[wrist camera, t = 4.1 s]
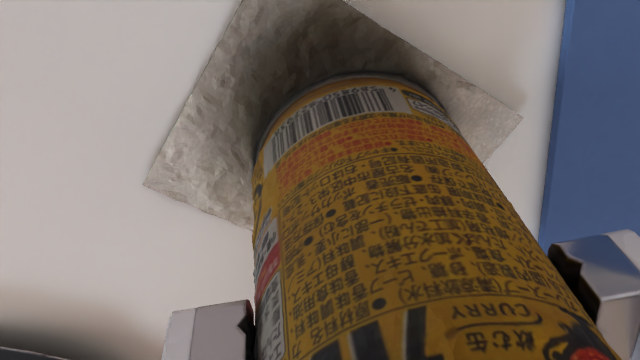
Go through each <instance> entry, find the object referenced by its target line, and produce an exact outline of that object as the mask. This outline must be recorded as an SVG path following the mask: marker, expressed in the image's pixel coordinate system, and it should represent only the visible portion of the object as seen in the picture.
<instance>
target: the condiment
mask: <svg viewBox="0 0 640 360" xmlns="http://www.w3.org/2000/svg"><path fill="white" fill-rule="evenodd" d="M522 119H523V117H522V116H520V115H519V114H517V113H516V112H514V111H513V110H511V109H509V108H508V107H506V106H505V105H503V104H502V103H500V102H499V101H497V100H496V99H494V98H493V97H491V96H490V95H488V94H487V93H485V92H484V91H482V90H480V89H479V88H477V87H476V86H474V85H473V84H471V83H469V82H467V81H466V80H465V79H463V78H462V77H460V76H459V75H457V74H456V73H454V72H453V71H451V70H450V69H448V68H447V67H445V66H444V65H442V64H440V63H439V62H437V61H435V60H434V59H432V58H431V57H429V56H428V55H426V54H425V53H423V52H421V51H420V50H418V49H417V48H415V47H413V46H412V45H410V44H409V43H408V42H406V41H404V40H403V39H401V38H399V37H397V36H396V35H394V34H392V33H391V32H389V31H388V30H386V29H384V28H383V27H381V26H380V25H378V24H377V23H376V22H374V21H373V20H371V19H370V18H368V17H367V16H365V15H363V14H362V13H360V12H359V11H357V10H356V9H354V8H353V7H351V6H350V5H348V4H347V3H345V2H344V1H342V0H243V1H242V3H241V5H240V6H239V8H238V10H237V12H236V14H235V15H234V17H233V19H232V21H231V23H230V24H229V26H228V28H227V30H226V32H225V34H224V36H223V38H222V40H221V41H220V43H219V44H218V46H217V48H216V50H215V52H214V53H213V55H212V57H211V59H210V61H209V63H208V65H207V66H206V68H205V70H204V72H203V74H202V76H201V77H200V79H199V81H198V83H197V85H196V87H195V88H194V90H193V92H192V94H191V95H190V96H189V98H188V100H187V102H186V104H185V107H184V109H183V110H182V112H181V114H180V116H179V118H178V120H177V123H176V124H175V125H174V127H173V129H172V131H171V133H170V135H169V136H168V138H167V140H166V142H165V144H164V145H163V147H162V149H161V151H160V153H159V155H158V157H157V159H156V161H155V162H154V164H153V166H152V168H151V170H150V172H149V173H148V175H147V177H146V179H145V181H144V183H143V184H142V185H144V186H146V187H148V188H150V189H153V190H156V191H158V192H160V193H162V194H164V195H166V196H168V197H170V198H173V199H176V200H179V201H182V202H185V203H188V204H190V205H192V206H194V207H196V208H198V209H200V210H201V211H204V212H206V213H209V214H212V215H216V216H219V217H221V218H223V219H226V220H228V221H230V222H232V223H234V224H236V225H238V226H241V227H245V228H248V229H250V230H252V231H253V235H252V243H253V250H254V267H255V268H254V272H253V275H254V278H255V279H254V283H255V296H254V302H255V333H256V335H255V345H254V358H255V360H622V359H621V358H620V356H619V355H618V354H617V353H616V352H615V351H614V350H613V349H612V348H611V347H610V346H609V344H608V343H607V342H606V340H605V339H604V337H603V336H602V334H601V332H600V331H599V330H598V328H597V327H596V326H595V325H594V323H593V321H592V320H591V318H590V317H589V315H588V314H587V313H586V312H585V310H584V309H583V307H582V305H581V303H580V302H579V301H578V300H577V298H576V297H575V296H574V295H573V293H572V292H571V290H570V289H569V287H568V286H567V284H566V283H565V281H564V280H563V278H562V277H561V276H560V274H559V272H558V271H557V269H556V268H555V267H554V266H553V264H552V263H551V261H550V260H549V258H548V257H547V255H546V254H545V253H544V251H543V250H542V248H541V247H540V245H539V244H538V243H537V241H536V240H535V238H534V237H533V235H532V234H531V232H530V231H529V230H528V228H527V227H526V226H525V224H524V223H523V221H522V220H521V218H520V216H519V215H518V214H517V212H516V211H515V209H514V208H513V206H512V204H511V203H510V202H509V201H508V200H507V198H506V197H505V195H504V194H503V193H502V191H501V190H500V188H499V187H498V185H497V184H496V182H495V181H494V179H493V178H492V177H491V175H490V174H489V172H488V171H487V169H486V168H485V166H484V165H483V164H482V163H483V162H484V161H485V160H486V159H488V158H489V157H490V156H491V155H492V153H493V152H494V151H495V150H496V149H497V147H498V146H499V145H500V144H501V143H502V142H503V141H504V140H505V139H506V138H507V137H508V135H509V134H510V133H511V132H512V131H513V130H514V129H515V127H516V126H517V125H518V124H519V123H520V121H521V120H522Z"/></svg>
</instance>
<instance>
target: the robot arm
mask: <svg viewBox="0 0 640 360" xmlns="http://www.w3.org/2000/svg"><path fill="white" fill-rule="evenodd" d="M547 257H548V258H549V260H550V261H551V263H552V264H553V266H554V267H555V268H556V269H557V271H558V272H559V274H560V276H561V277H562V278H563V280H564V281H565V283H566V284H567V286H568V287H569V289H570V290H571V292H572V293H573V295H574V296H575V297H576V298H577V300H578V301H579V302H580V303H581V305H582V307H583V309H584V310H585V312H586V313H587V314H588V315H589V317H590V318H591V320H592V321H593V323H594V325H595V326H596V327H597V328H598V330H599V331H600V332H601V334H602V336H603V337H604V339H605V340H606V342H607V343H608V344H609V346H610V347H611V348H612V349H613V350H614V351H615V352H616V353H617V354H618V355H619V356H620V358H621V359H622V360H640V237H639V236H638V235H637V234H636V233H635V232H634V231H631V230H629V229H624V230H619V231H614V232H609V233H604V234H601V235H594V236H589V237H583V238H578V239H573V240H568V241H563V242H557V243H552V244H551V246H550V247H549V249H548V255H547ZM255 335H256V333H255V325H254V312H253V309H252V306H251V304H250V301H249V300H241V301H235V302H228V303H222V304H216V305H209V306H203V307H198V308H194V309H187V310H181V311H174V312H172V314H171V316H170V317H169V320H168V326H167V331H166V337H165V343H164V348H163V354H162V359H161V360H255V358H254V345H255Z"/></svg>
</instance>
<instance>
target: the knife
mask: <svg viewBox="0 0 640 360" xmlns="http://www.w3.org/2000/svg"><path fill="white" fill-rule="evenodd" d="M0 360H69V359H65V358H60V357H56V356H51V355H46V354H42V353H37V352H32V351H26V350H20V349H14V348H7V347H1V346H0Z"/></svg>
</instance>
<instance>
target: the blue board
mask: <svg viewBox="0 0 640 360" xmlns="http://www.w3.org/2000/svg"><path fill="white" fill-rule="evenodd" d="M624 229H629V230H631V231H634V232H635V233H636V234H637V235H638V236H639V237H640V0H566V9H565V17H564V26H563V34H562V43H561V51H560V60H559V68H558V77H557V85H556V94H555V103H554V111H553V120H552V128H551V137H550V145H549V154H548V162H547V171H546V179H545V188H544V196H543V205H542V214H541V222H540V231H539V239H538V244H539V245H540V247H541V248H542V250H543V251H544V253H545V254H546V255H548V249H549V247H550V246H551V244H552V243H557V242H563V241H568V240H573V239H578V238H583V237H589V236H594V235H601V234H604V233H609V232H614V231H619V230H624Z"/></svg>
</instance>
